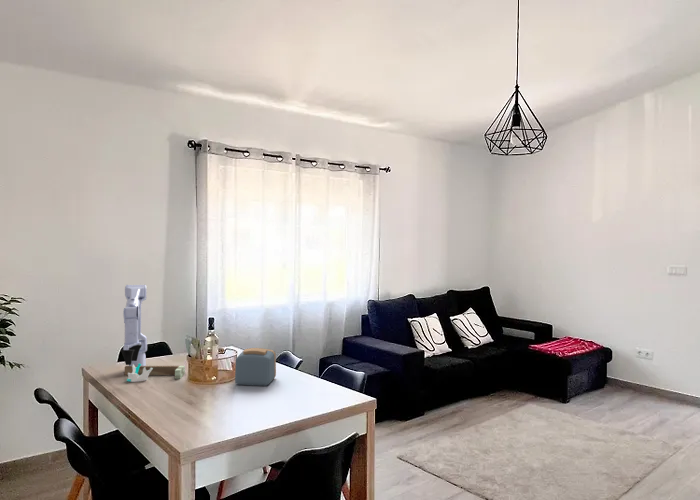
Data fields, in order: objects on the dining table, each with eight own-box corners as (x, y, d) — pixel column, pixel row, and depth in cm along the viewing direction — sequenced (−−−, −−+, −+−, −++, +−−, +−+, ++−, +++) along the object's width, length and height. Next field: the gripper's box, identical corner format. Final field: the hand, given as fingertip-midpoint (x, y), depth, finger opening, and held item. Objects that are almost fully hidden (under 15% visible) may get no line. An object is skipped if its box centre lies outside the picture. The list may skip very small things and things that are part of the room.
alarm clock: (276, 377, 260) (277, 345, 260) (268, 387, 244) (268, 352, 243) (244, 376, 262) (244, 344, 261) (233, 385, 245) (233, 351, 245)
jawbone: (119, 379, 252) (126, 359, 255) (133, 382, 258) (140, 363, 261) (133, 382, 245) (140, 362, 248) (147, 386, 251) (154, 366, 254)
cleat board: (125, 374, 264) (125, 366, 264) (184, 373, 266) (184, 365, 266) (118, 379, 254) (119, 370, 254) (180, 378, 256) (180, 370, 256)
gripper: (134, 335, 236) (134, 366, 237) (145, 330, 251) (145, 359, 251) (118, 335, 236) (118, 366, 236) (130, 330, 250) (130, 359, 251)
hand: (131, 362), depth 244 cm, fingers open, 7 cm apart
